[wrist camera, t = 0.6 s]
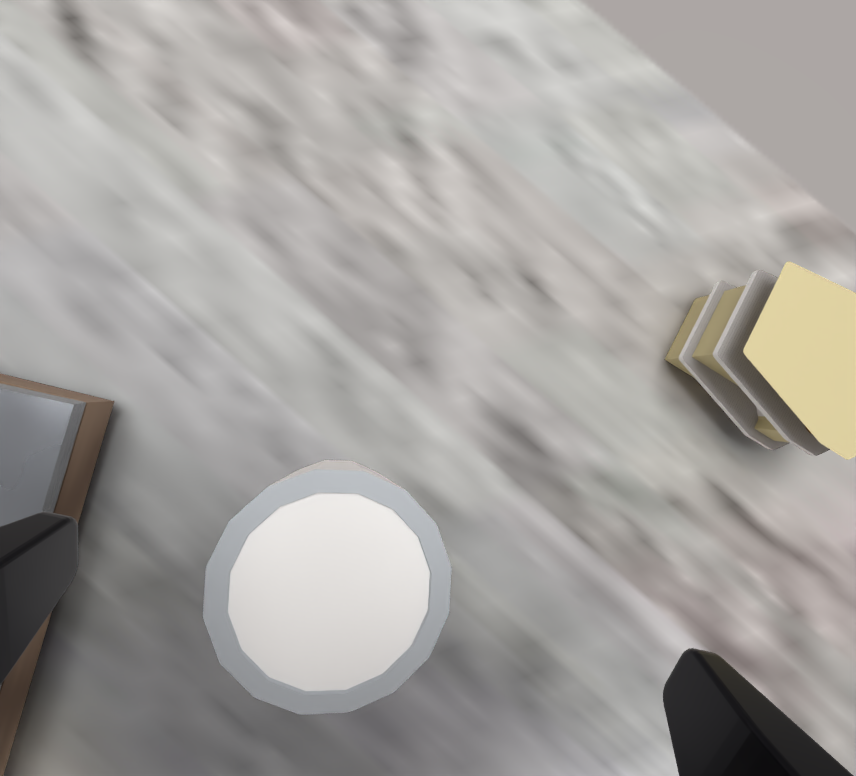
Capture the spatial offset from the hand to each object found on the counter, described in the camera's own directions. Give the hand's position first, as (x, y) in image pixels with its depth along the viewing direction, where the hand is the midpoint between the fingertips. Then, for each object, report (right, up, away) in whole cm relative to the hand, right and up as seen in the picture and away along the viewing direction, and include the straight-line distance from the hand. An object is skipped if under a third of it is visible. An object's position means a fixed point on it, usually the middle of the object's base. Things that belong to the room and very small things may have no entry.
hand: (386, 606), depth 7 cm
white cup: (-3, -3, +14) cm, 14 cm away
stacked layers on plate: (+15, +4, +17) cm, 23 cm away
